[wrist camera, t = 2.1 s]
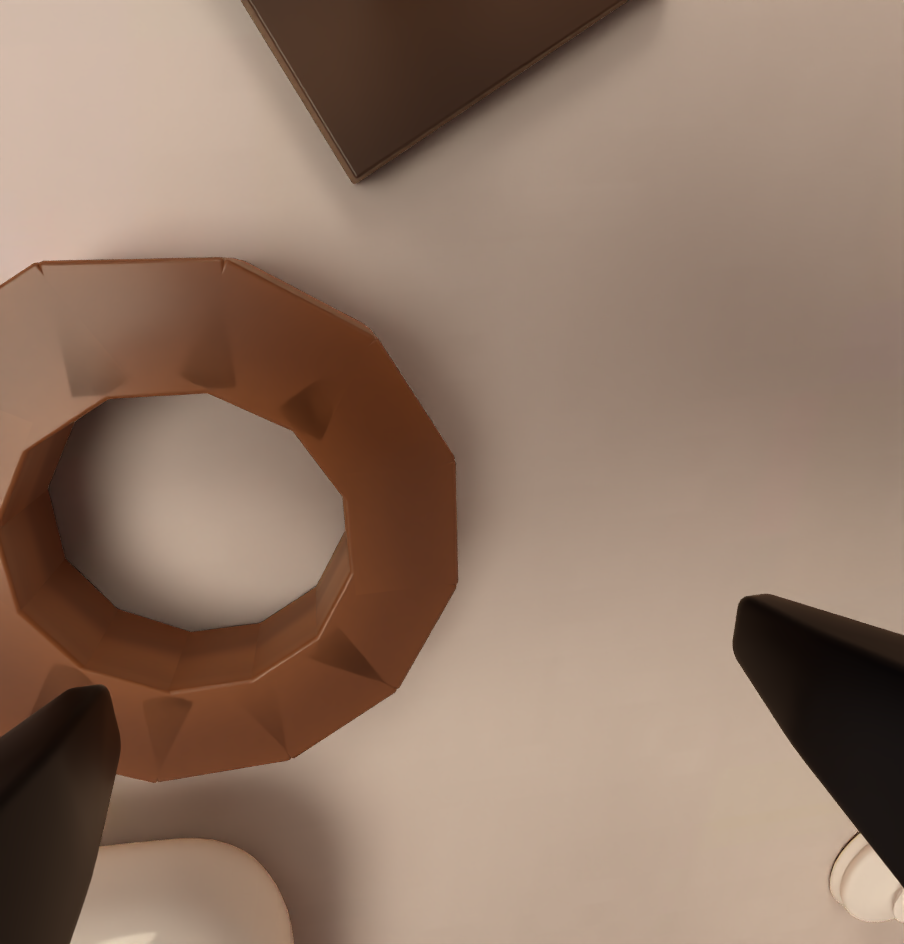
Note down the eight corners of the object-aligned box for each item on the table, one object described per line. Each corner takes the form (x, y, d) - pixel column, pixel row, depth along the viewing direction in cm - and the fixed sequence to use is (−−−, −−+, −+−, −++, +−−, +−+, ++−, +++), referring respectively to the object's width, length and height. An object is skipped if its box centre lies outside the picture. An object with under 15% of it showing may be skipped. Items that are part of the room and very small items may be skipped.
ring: (4, 738, 15) (-50, 819, 13) (-148, 266, 12) (-258, 266, 9) (443, 673, 17) (462, 732, 15) (430, 254, 14) (452, 252, 12)
